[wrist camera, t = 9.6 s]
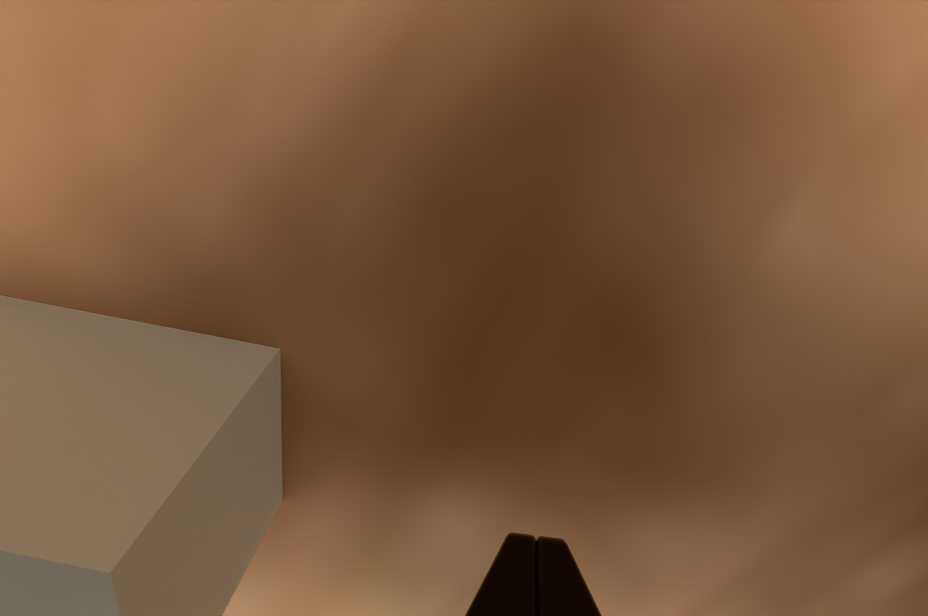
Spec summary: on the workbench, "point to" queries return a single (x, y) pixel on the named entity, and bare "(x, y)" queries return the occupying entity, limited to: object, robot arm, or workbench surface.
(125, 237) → the workbench surface
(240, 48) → the workbench surface
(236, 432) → the grey rectangular block
